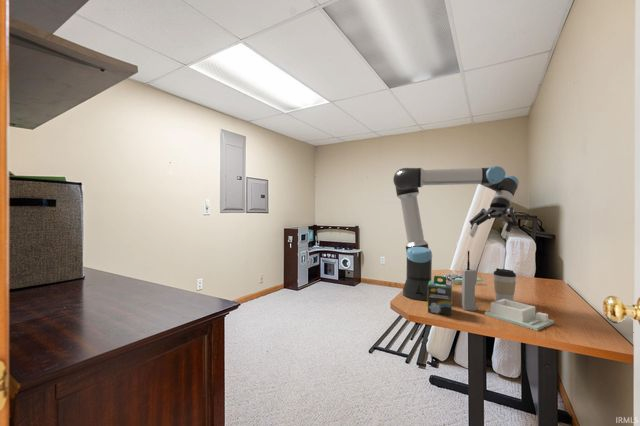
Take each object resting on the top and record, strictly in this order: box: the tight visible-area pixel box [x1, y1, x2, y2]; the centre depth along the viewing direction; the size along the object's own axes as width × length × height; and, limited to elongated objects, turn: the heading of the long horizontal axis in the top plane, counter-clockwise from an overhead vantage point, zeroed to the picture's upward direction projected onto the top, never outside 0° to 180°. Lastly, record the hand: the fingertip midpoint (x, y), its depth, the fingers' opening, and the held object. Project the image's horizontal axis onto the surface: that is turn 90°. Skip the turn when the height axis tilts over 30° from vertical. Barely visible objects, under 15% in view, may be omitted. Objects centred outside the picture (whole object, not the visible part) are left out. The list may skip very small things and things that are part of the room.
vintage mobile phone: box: [461, 250, 478, 312], centre depth 121 cm, size 4×5×25 cm
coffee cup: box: [492, 268, 517, 301], centre depth 133 cm, size 9×9×15 cm
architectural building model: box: [484, 299, 555, 332], centre depth 111 cm, size 18×14×5 cm
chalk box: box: [427, 275, 453, 316], centre depth 119 cm, size 9×9×15 cm
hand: (486, 236), depth 127 cm, fingers open, 13 cm apart
